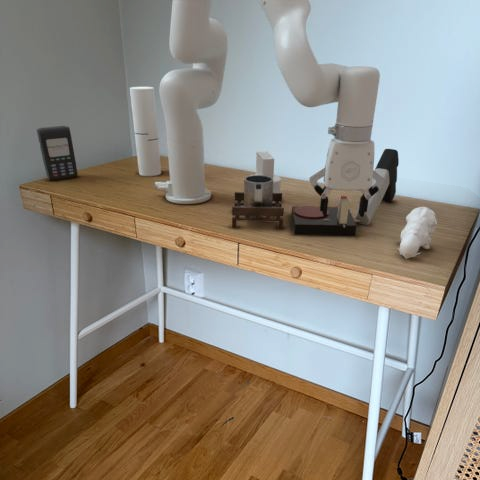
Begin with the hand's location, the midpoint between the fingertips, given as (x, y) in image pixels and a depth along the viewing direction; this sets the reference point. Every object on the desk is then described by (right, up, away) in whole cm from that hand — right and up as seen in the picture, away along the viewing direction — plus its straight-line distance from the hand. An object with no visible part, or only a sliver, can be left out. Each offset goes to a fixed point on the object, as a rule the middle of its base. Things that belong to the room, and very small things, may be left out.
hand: (342, 214), depth 106 cm
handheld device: (+12, +4, +14) cm, 18 cm away
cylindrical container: (-53, +23, +45) cm, 73 cm away
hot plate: (-6, +2, +6) cm, 9 cm away
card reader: (-79, +20, +39) cm, 90 cm away
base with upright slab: (-17, +9, +21) cm, 29 cm away
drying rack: (-19, +1, +8) cm, 21 cm away
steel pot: (-19, +3, +7) cm, 21 cm away
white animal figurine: (+13, -10, -8) cm, 18 cm away
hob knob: (0, -1, +1) cm, 1 cm away
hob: (-4, -1, +5) cm, 7 cm away
